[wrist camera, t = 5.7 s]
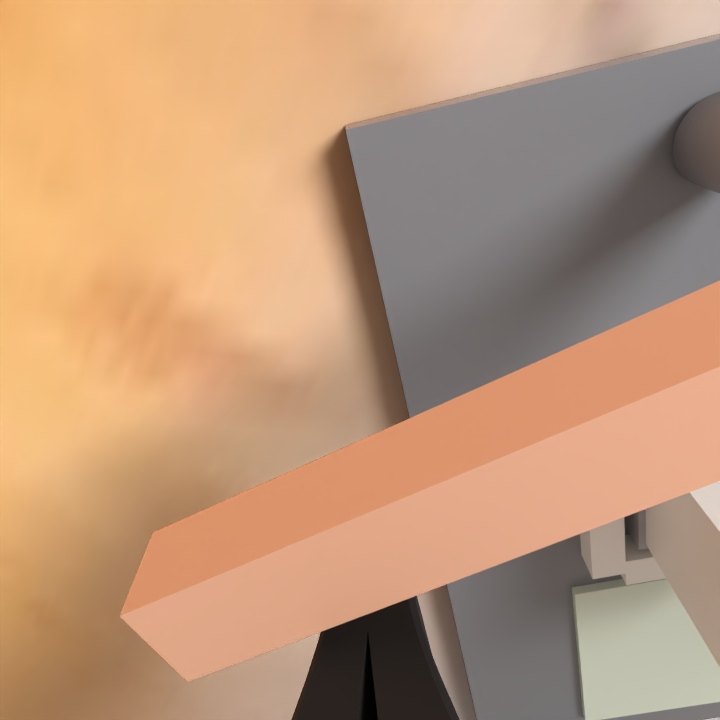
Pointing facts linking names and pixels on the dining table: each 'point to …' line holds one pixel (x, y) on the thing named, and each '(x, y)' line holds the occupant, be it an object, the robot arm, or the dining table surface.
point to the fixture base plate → (549, 343)
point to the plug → (687, 553)
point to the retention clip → (451, 482)
